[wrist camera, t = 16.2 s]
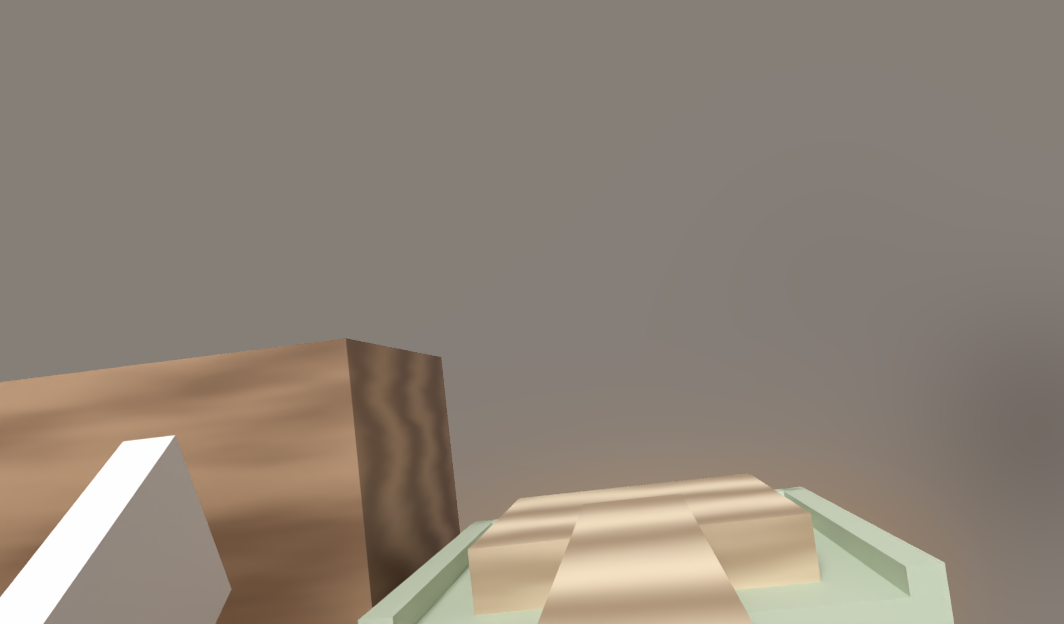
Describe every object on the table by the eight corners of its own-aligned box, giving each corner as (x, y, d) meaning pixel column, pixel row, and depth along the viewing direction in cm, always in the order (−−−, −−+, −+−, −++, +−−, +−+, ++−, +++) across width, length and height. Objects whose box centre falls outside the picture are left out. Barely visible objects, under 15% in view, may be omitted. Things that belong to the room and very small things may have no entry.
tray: (957, 640, 24) (944, 562, 24) (364, 693, 26) (358, 620, 26) (807, 528, 44) (801, 486, 44) (479, 562, 45) (474, 521, 46)
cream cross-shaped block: (1090, 841, 11) (1049, 596, 12) (280, 898, 12) (262, 670, 13) (755, 518, 41) (745, 451, 41) (524, 542, 42) (516, 476, 42)
